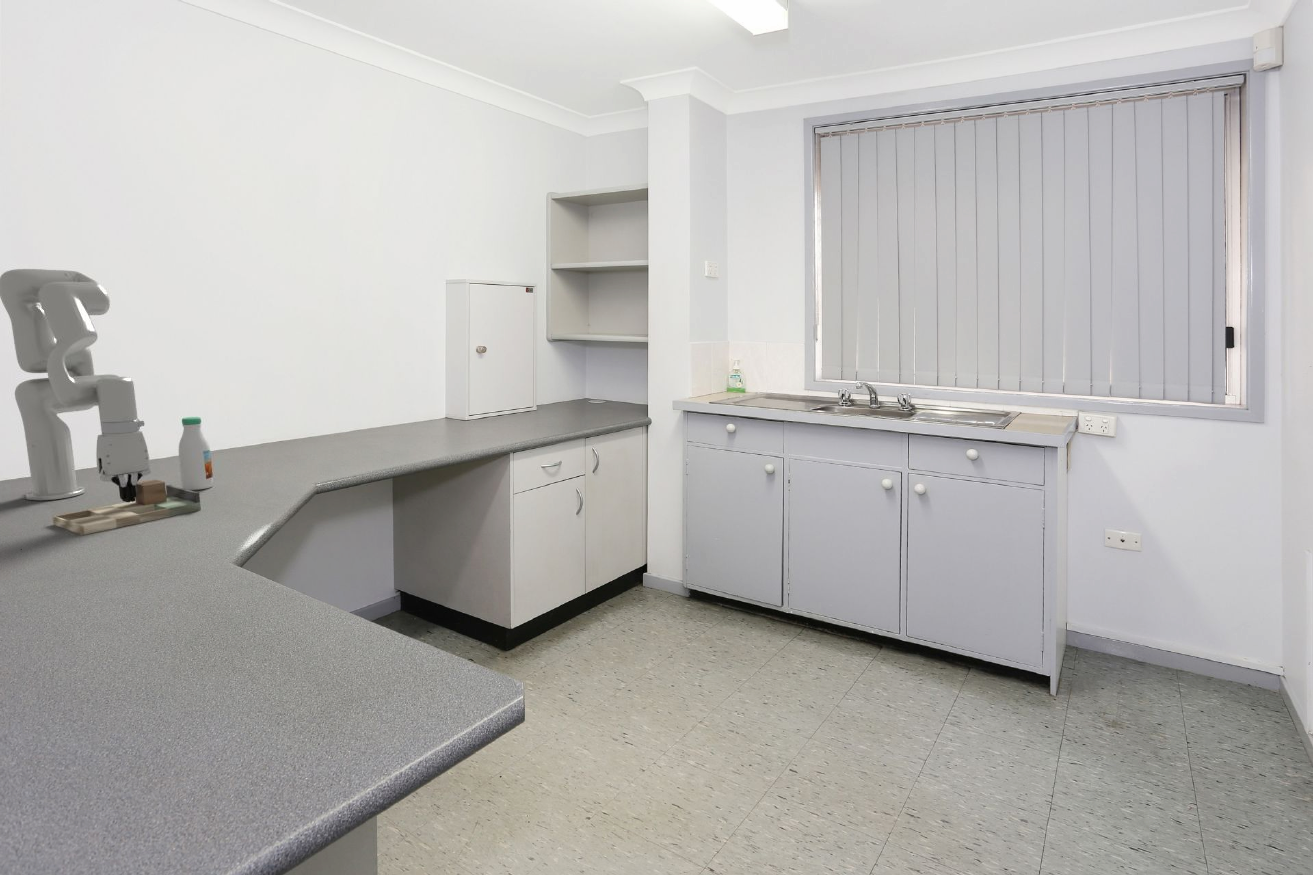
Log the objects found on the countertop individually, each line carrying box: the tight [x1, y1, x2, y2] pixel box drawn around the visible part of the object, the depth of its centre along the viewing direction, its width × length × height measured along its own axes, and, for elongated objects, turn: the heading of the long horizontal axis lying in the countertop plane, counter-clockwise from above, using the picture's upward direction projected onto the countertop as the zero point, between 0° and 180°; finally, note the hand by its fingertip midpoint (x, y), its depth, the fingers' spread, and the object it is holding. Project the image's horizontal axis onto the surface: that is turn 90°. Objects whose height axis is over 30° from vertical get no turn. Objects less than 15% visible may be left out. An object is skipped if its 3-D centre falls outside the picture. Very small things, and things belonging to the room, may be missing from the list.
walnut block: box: [135, 479, 167, 505], centre depth 195 cm, size 5×5×5 cm
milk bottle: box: [178, 416, 214, 491], centre depth 217 cm, size 8×8×20 cm
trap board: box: [52, 484, 202, 536], centre depth 188 cm, size 15×26×4 cm, turn 148°
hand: (128, 501), depth 191 cm, fingers closed
